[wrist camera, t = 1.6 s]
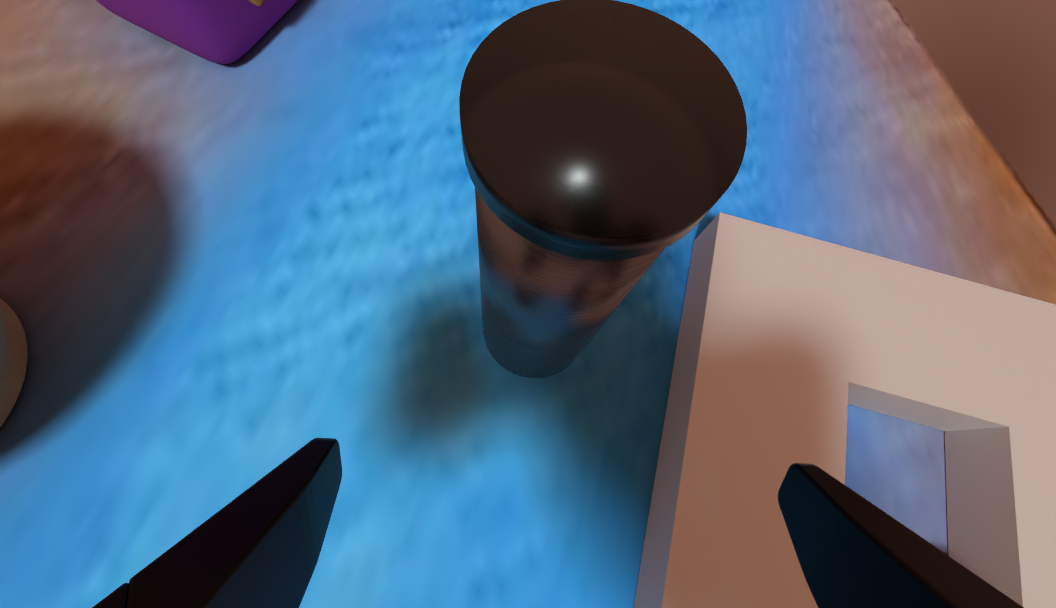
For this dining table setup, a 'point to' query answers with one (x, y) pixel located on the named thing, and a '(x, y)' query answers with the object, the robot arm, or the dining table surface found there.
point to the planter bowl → (11, 359)
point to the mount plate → (843, 412)
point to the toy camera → (204, 23)
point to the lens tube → (587, 165)
